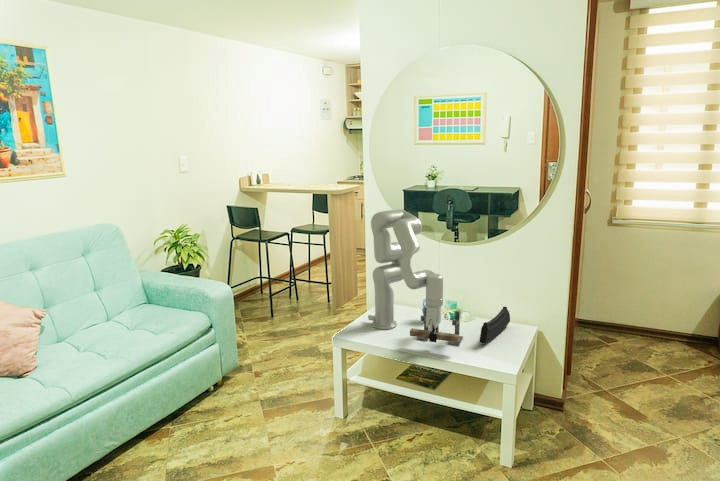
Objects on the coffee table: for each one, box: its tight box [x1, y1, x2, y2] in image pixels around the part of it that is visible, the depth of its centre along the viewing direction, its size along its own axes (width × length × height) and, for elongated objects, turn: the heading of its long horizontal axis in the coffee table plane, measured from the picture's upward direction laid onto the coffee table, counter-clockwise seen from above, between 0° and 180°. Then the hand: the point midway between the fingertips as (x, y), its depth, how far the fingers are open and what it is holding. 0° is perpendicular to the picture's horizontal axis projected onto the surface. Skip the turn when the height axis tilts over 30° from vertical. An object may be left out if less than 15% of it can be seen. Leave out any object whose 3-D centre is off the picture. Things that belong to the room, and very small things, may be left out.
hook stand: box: [416, 307, 464, 347], centre depth 231 cm, size 20×9×14 cm, turn 67°
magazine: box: [479, 306, 511, 345], centre depth 234 cm, size 17×3×30 cm
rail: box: [409, 328, 460, 342], centre depth 220 cm, size 22×3×2 cm, turn 67°
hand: (433, 339), depth 220 cm, fingers closed on rail, 3 cm apart
